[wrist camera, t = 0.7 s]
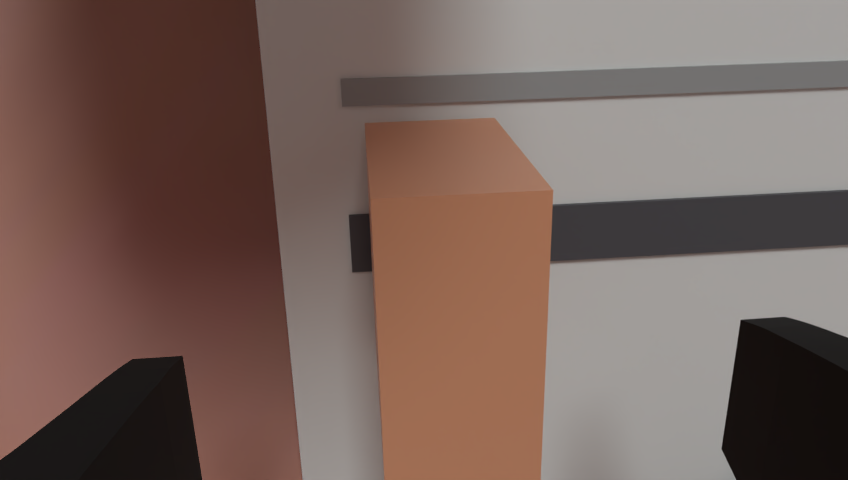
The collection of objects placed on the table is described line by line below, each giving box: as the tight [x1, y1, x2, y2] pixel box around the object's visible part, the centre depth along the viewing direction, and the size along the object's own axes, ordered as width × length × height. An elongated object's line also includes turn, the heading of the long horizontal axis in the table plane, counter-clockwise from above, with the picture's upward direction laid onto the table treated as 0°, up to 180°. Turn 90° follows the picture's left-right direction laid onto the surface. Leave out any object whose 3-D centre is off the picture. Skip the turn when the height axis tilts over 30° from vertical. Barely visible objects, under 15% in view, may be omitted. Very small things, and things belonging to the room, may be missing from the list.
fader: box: [365, 118, 553, 480], centre depth 13 cm, size 2×5×4 cm, turn 1°
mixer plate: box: [255, 0, 848, 480], centre depth 18 cm, size 16×22×2 cm
